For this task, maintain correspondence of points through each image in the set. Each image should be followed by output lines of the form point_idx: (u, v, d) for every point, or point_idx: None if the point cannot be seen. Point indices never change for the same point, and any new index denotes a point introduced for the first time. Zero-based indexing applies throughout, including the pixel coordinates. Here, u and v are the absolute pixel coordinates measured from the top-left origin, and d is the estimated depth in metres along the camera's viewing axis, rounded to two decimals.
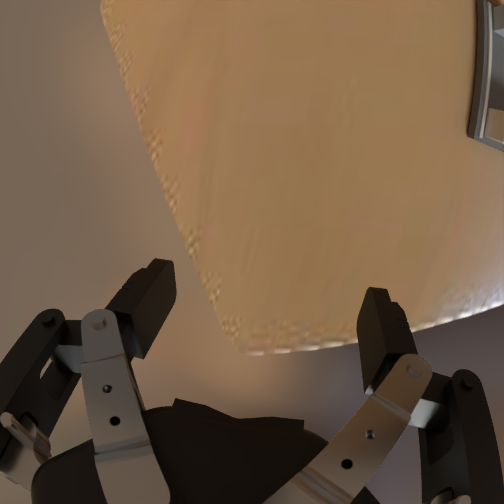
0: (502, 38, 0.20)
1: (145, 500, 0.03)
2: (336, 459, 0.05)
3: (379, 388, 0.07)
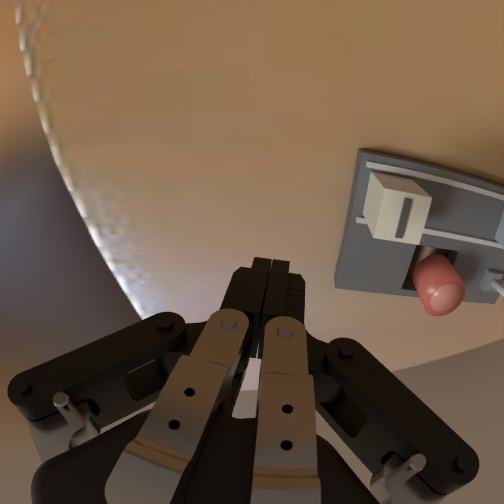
0: (497, 219, 0.23)
1: (139, 503, 0.03)
2: (274, 447, 0.05)
3: (264, 363, 0.07)
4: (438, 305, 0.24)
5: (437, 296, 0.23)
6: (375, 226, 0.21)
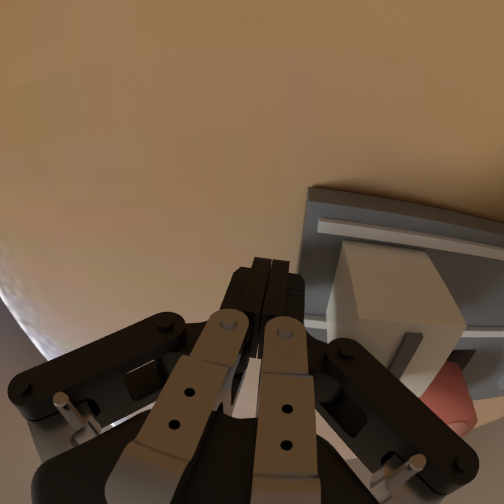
0: None
1: (139, 503, 0.03)
2: (274, 447, 0.05)
3: (263, 363, 0.07)
4: None
5: None
6: None
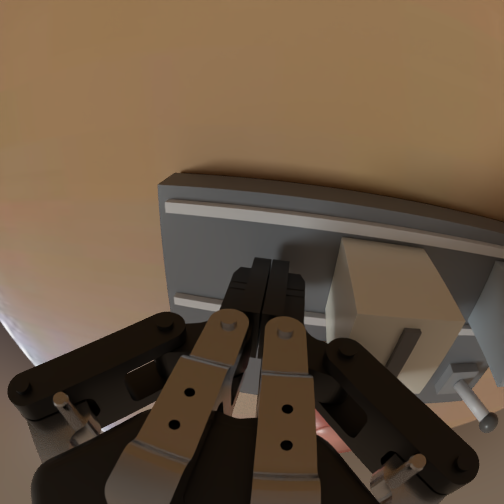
0: (477, 289, 0.13)
1: (139, 503, 0.03)
2: (274, 446, 0.05)
3: (263, 363, 0.07)
4: None
5: None
6: None
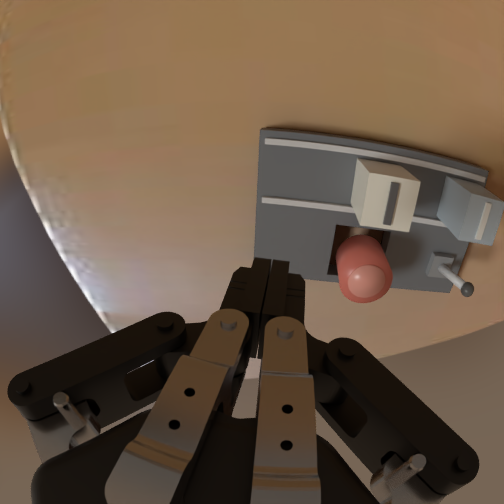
0: (438, 193, 0.23)
1: (139, 503, 0.03)
2: (274, 446, 0.05)
3: (264, 363, 0.07)
4: (359, 290, 0.24)
5: (355, 279, 0.24)
6: (361, 213, 0.21)
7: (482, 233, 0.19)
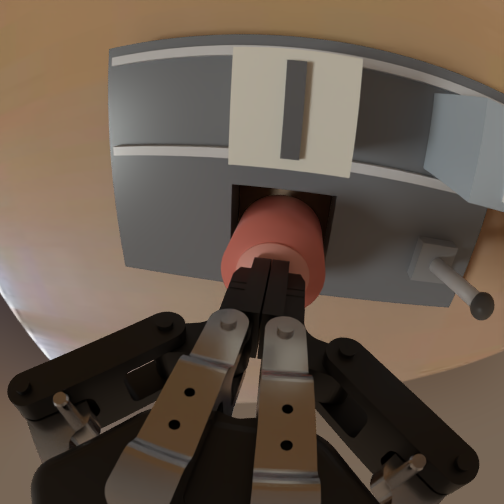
0: (423, 126, 0.12)
1: (139, 503, 0.03)
2: (274, 447, 0.05)
3: (264, 363, 0.07)
4: None
5: None
6: (230, 137, 0.09)
7: None
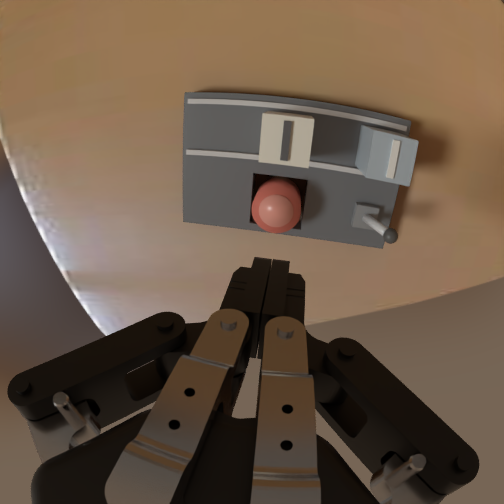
0: (354, 142, 0.26)
1: (139, 503, 0.03)
2: (274, 446, 0.05)
3: (263, 363, 0.07)
4: (270, 219, 0.28)
5: (265, 209, 0.28)
6: None
7: (394, 171, 0.22)
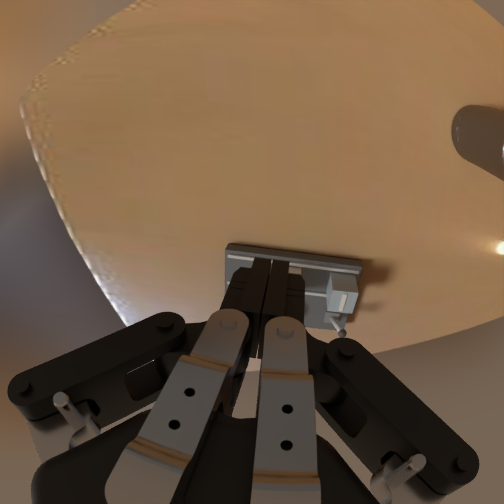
0: (326, 280, 0.48)
1: (139, 503, 0.03)
2: (274, 447, 0.05)
3: (264, 363, 0.07)
4: None
5: None
6: None
7: (343, 308, 0.44)
